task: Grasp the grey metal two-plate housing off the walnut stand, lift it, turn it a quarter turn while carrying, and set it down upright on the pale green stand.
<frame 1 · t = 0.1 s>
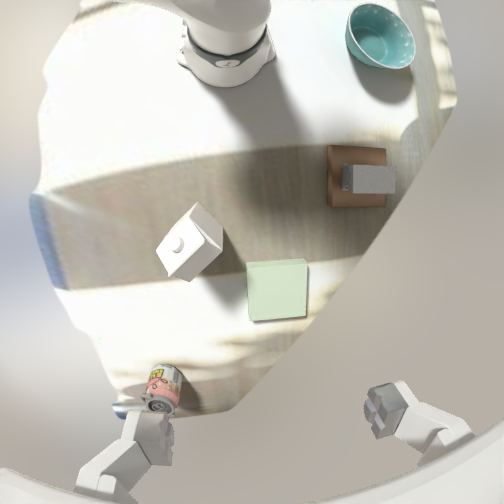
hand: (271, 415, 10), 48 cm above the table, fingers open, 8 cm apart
milk carton: (197, 226, 56), on the table
stand a: (354, 175, 55), on the table
bowl: (366, 45, 47), on the table
housing: (360, 176, 53), point 3 cm above the table, touching stand a
stand b: (275, 287, 61), on the table
beverage can: (165, 374, 67), on the table
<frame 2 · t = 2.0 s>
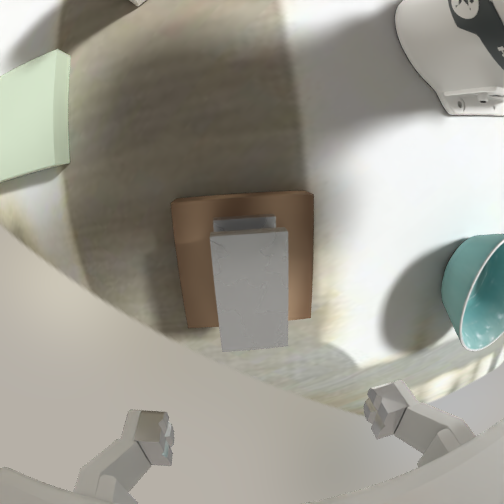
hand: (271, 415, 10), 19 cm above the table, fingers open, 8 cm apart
stand a: (244, 255, 28), on the table
bowl: (462, 272, 32), on the table
housing: (246, 266, 26), point 3 cm above the table, touching stand a
stand b: (26, 121, 21), on the table
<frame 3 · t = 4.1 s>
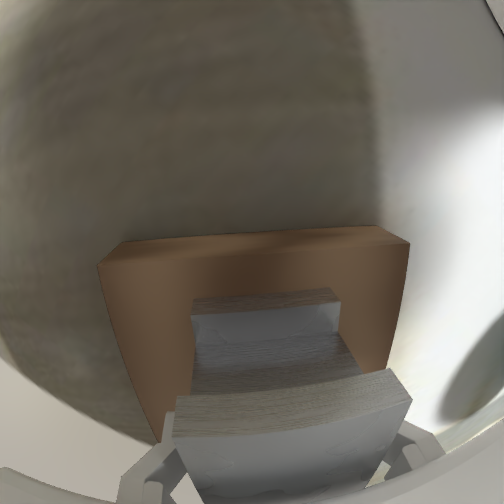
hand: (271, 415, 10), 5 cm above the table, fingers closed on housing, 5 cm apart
stand a: (258, 344, 15), on the table
housing: (265, 383, 12), point 3 cm above the table, touching gripper, stand a
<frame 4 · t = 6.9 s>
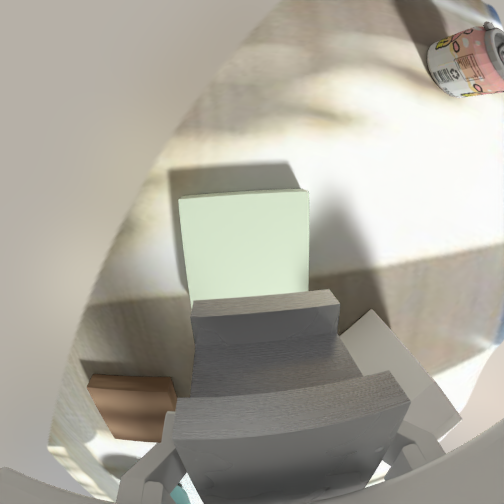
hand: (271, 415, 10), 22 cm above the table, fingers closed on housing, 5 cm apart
milk carton: (362, 339, 36), on the table
stand a: (141, 404, 36), on the table
bowl: (161, 485, 45), on the table
housing: (265, 384, 12), point 20 cm above the table, touching gripper
stand b: (245, 248, 31), on the table
beverage can: (447, 69, 26), on the table
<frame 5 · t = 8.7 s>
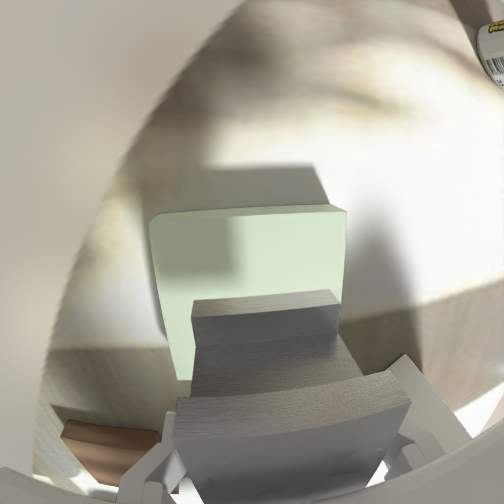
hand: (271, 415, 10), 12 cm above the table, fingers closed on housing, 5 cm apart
milk carton: (389, 386, 27), on the table
stand a: (125, 453, 27), on the table
housing: (265, 384, 12), point 10 cm above the table, touching gripper
stand b: (249, 288, 21), on the table
beverage can: (496, 59, 17), on the table
when the fingers open (6 cm above the table, at t = 10.2 s): housing drops 1 cm, resting on stand b.
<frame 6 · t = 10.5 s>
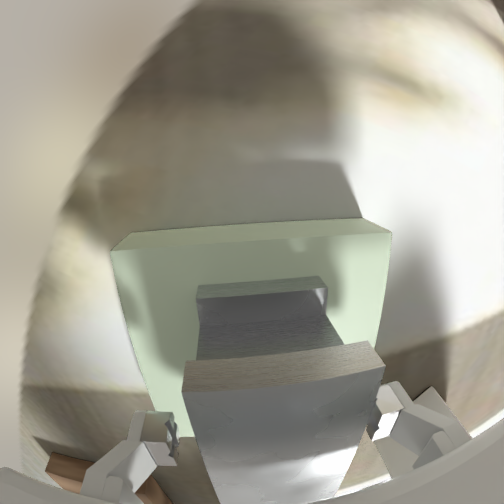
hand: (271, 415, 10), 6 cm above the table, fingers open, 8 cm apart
milk carton: (410, 418, 22), on the table
stand a: (116, 486, 22), on the table
housing: (262, 365, 13), point 3 cm above the table, touching stand b
stand b: (255, 328, 16), on the table
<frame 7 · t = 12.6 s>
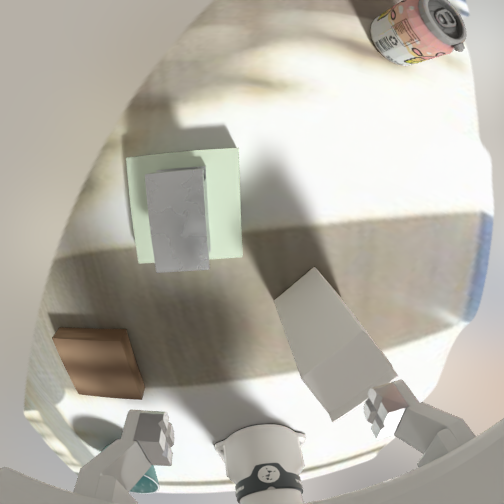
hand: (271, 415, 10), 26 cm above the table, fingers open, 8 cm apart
milk carton: (308, 298, 39), on the table
stand a: (101, 359, 39), on the table
bowl: (128, 451, 49), on the table
housing: (184, 209, 30), point 3 cm above the table, touching stand b
stand b: (187, 202, 33), on the table
beverage can: (394, 40, 28), on the table
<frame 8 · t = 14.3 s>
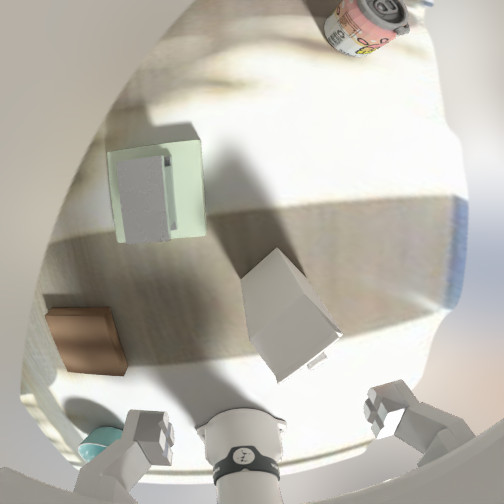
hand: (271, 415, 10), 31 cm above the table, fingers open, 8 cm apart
milk carton: (274, 278, 43), on the table
stand a: (89, 337, 43), on the table
bowl: (117, 436, 52), on the table
housing: (155, 194, 34), point 3 cm above the table, touching stand b
stand b: (159, 190, 37), on the table
beverage can: (349, 35, 32), on the table
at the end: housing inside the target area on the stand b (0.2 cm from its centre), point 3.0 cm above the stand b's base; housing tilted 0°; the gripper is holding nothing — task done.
